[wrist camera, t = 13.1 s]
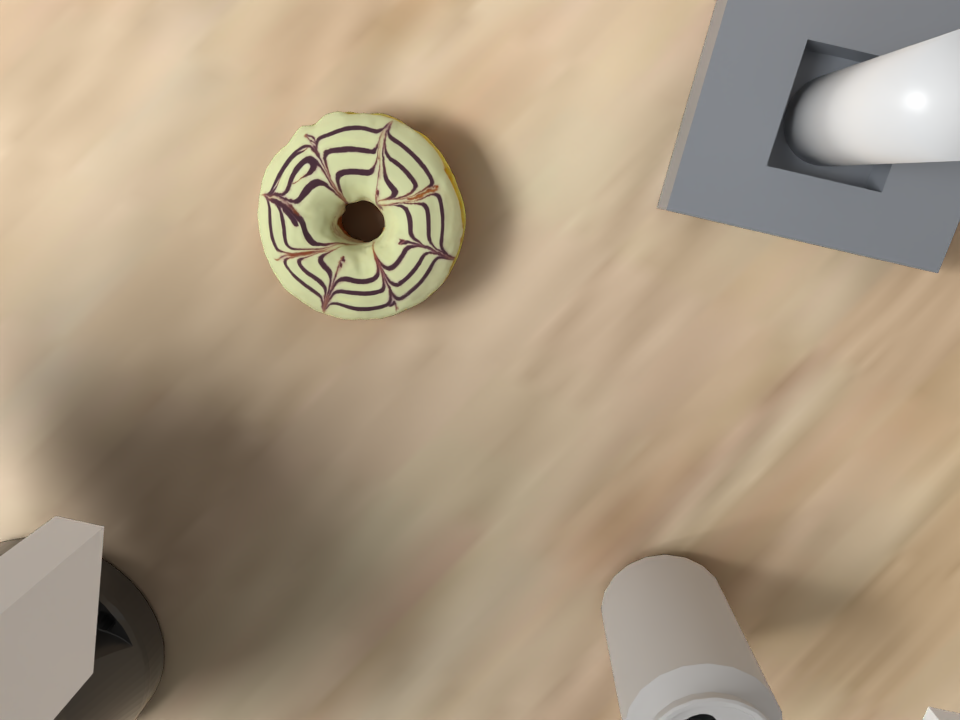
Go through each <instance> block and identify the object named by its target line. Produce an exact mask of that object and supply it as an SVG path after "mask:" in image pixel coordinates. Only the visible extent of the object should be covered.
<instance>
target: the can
mask: <svg viewBox="0 0 960 720" xmlns="http://www.w3.org/2000/svg"><path fill="white" fill-rule="evenodd" d="M601 611H602V617H603V624H604V629H605V634H606V640H607V645H608V650H609V655H610V661H611V666H612V671H613V676H614V681H615V687H616V692H617V697H618V702H619V708H620V713H621V718H622V720H782V711H781V709H780V707H779V705H778V703H777V701H776V699H775V697H774V695H773V693H772V691H771V689H770V687H769V685H768V683H767V681H766V679H765V677H764V675H763V673H762V671H761V669H760V667H759V665H758V663H757V660H756V658H755V656H754V654H753V652H752V650H751V648H750V646H749V644H748V642H747V640H746V638H745V636H744V634H743V632H742V630H741V628H740V626H739V624H738V622H737V620H736V618H735V616H734V614H733V612H732V610H731V608H730V606H729V604H728V602H727V600H726V598H725V596H724V594H723V592H722V590H721V588H720V586H719V584H718V582H717V580H716V578H715V577H714V576H713V575H712V574H711V573H710V572H709V571H708V570H707V569H705V568H704V567H703V566H702V565H700V564H698V563H696V562H694V561H692V560H689V559H687V558H685V557H679V556H672V555H659V556H651V557H645V558H643V559H640V560H638V561H636V562H633V563H631V564H629V565H627V566H626V567H625V568H624V569H622V570H621V571H620V572H619V573H618V574H617V575H615V576H614V577H613V579H612V580H611V582H610V584H609V585H608V587H607V589H606V590H605V592H604V597H603V601H602V606H601Z"/></svg>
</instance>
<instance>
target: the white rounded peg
mask: <svg viewBox="0 0 960 720" xmlns="http://www.w3.org/2000/svg"><path fill="white" fill-rule="evenodd" d="M784 133H785V138H786V141H787V143H788V146H789V147H790V149H791V151H792V152H793V153H794V154H795V155H796V156H797V157H798V158H799V159H801V160H802V161H804V162H806V163H808V164H811V165H815V166H845V165H871V164H896V163H921V162H946V161H960V29H958V30H955V31H953V32H950V33H947V34H944V35H941V36H938V37H935V38H932V39H929V40H926V41H923V42H920V43H917V44H914V45H911V46H908V47H905V48H902V49H899V50H896V51H894V52H891V53H888V54H885V55H882V56H879V57H876V58H873V59H870V60H867V61H864V62H861V63H858V64H855V65H852V66H849V67H846V68H843V69H840V70H837V71H835V72H832V73H829V74H826V75H823V76H820V77H817V78H815V79H813V80H811V81H809V82H808V83H807V84H805V85H804V86H803V87H802V88H801V89H800V90H799V91H798V92H797V93H796V94H795V95H794V97H793V98H792V100H791V102H790V104H789V106H788V108H787V111H786V114H785V120H784Z"/></svg>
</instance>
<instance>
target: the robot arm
mask: <svg viewBox="0 0 960 720" xmlns="http://www.w3.org/2000/svg"><path fill="white" fill-rule="evenodd" d="M103 536H104V526H99V525H95V524H90V523H86V522H81V521H77V520H72V519H67V518H63V517H58V516H55V517H53V518H52V519H51V520H49V521H48V522H47V523H45V524H44V525H42V526H41V527H40V528H38V529H37V530H36V531H34V532H33V533H32V534H30V535H29V536H27V537H26V538H25V539H16V540H10V541H5V542H1V543H0V720H135V719H136V718H137V717H138V715H139V714H140V712H141V711H142V710H143V708H144V707H145V705H146V704H147V703H148V701H149V700H150V698H151V697H152V696H153V694H154V692H155V690H156V688H157V686H158V684H159V681H160V679H161V675H162V671H163V665H164V647H163V640H162V635H161V631H160V628H159V625H158V622H157V620H156V618H155V615H154V613H153V611H152V610H151V608H150V606H149V604H148V603H147V601H146V600H145V598H144V597H143V596H142V594H141V593H140V592H139V590H138V589H137V588H136V587H135V586H134V585H133V584H132V583H131V581H130V580H129V579H127V578H126V577H125V576H124V575H123V574H122V573H121V572H120V571H118V570H117V569H116V568H114V567H113V566H112V565H110V564H109V563H107V562H106V561H104V560H103V559H102V550H103ZM922 720H960V713H955V712H950V711H946V710H941V709H937V708H932V707H928V709H927V711H926V713H925V715H924V717H923V719H922Z"/></svg>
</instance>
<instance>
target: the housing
mask: <svg viewBox="0 0 960 720" xmlns="http://www.w3.org/2000/svg"><path fill="white" fill-rule="evenodd" d="M958 29H960V0H717V1H716V4H715V8H714V11H713V15H712V18H711V22H710V25H709V29H708V32H707V36H706V39H705V43H704V46H703V49H702V53H701V56H700V60H699V63H698V67H697V70H696V74H695V77H694V81H693V84H692V88H691V91H690V95H689V98H688V102H687V105H686V108H685V112H684V115H683V119H682V122H681V126H680V129H679V133H678V136H677V140H676V143H675V147H674V150H673V154H672V157H671V161H670V164H669V167H668V171H667V174H666V178H665V181H664V185H663V188H662V192H661V195H660V199H659V202H658V206H657V208H659V209H663V210H667V211H672V212H676V213H680V214H685V215H689V216H693V217H697V218H702V219H706V220H710V221H715V222H719V223H723V224H728V225H732V226H736V227H741V228H745V229H749V230H753V231H758V232H762V233H766V234H771V235H775V236H779V237H784V238H788V239H792V240H796V241H801V242H805V243H809V244H814V245H818V246H822V247H827V248H831V249H835V250H839V251H844V252H848V253H852V254H857V255H861V256H865V257H870V258H874V259H878V260H883V261H887V262H891V263H895V264H900V265H904V266H908V267H913V268H917V269H922V270H926V271H930V272H935V273H938V272H939V270H940V267H941V265H942V262H943V260H944V257H945V255H946V253H947V250H948V248H949V245H950V243H951V240H952V238H953V235H954V233H955V231H956V228H957V226H958V223H959V221H960V161H946V162H921V163H896V164H871V165H845V166H815V165H811V164H808V163H806V162H804V161H802V160H801V159H799V158H798V157H797V156H796V155H795V154H794V153H793V152H792V151H791V149H790V147H789V146H788V143H787V141H786V138H785V133H784V120H785V114H786V111H787V108H788V106H789V104H790V102H791V100H792V98H793V97H794V95H795V94H796V93H797V92H798V91H799V90H800V89H801V88H802V87H803V86H804V85H805V84H807V83H808V82H809V81H811V80H813V79H815V78H817V77H820V76H823V75H826V74H829V73H832V72H835V71H837V70H840V69H843V68H846V67H849V66H852V65H855V64H858V63H861V62H864V61H867V60H870V59H873V58H876V57H879V56H882V55H885V54H888V53H891V52H894V51H896V50H899V49H902V48H905V47H908V46H911V45H914V44H917V43H920V42H923V41H926V40H929V39H932V38H935V37H938V36H941V35H944V34H947V33H950V32H953V31H955V30H958Z"/></svg>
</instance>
